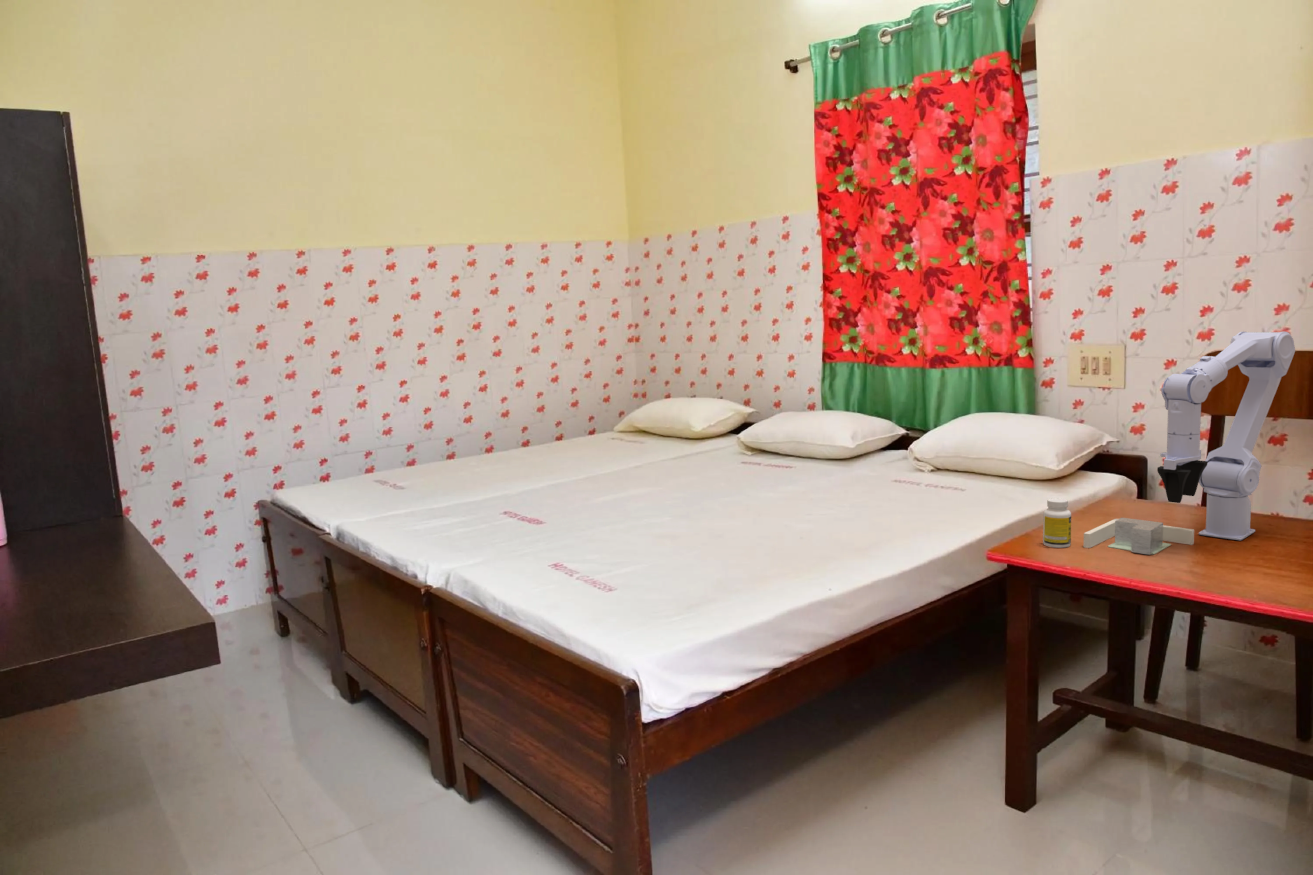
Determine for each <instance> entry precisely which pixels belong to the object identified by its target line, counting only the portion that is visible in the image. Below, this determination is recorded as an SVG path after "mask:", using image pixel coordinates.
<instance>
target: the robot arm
mask: <svg viewBox="0 0 1313 875" xmlns="http://www.w3.org/2000/svg"><path fill="white" fill-rule="evenodd" d="M1295 352H1296V346H1295V341H1294V338H1293V336H1292V334H1291V333H1289V331H1280V332H1279V331H1277V332H1276V331H1275V332H1274V331H1273V332H1272V331H1271V332H1269V331H1266V332H1265V331H1262V332H1258V331H1256V332H1255V331H1250V332H1249V331H1239V332H1238V333H1236V335H1233V336H1232V337H1231V340H1230V344H1229V345H1228V346H1227V347H1225V348H1224V349H1223V350H1221V352H1219V353H1218V354H1217V355H1215V356H1212V355H1211V356H1210V355H1209V356H1208V355H1202V356H1201V357H1199V361H1197V362H1196V363H1195V364H1192V365H1191V366H1188V367H1187V368H1186V369H1185V370H1184V371H1182V372H1181V373H1172V374H1171V375H1169V376H1168V377H1166V378H1165V379H1164V381H1163V384H1162V387H1161V390H1160V391H1161V395H1162V398H1163V400H1164V407H1165V410H1167V428H1166V432H1167V434H1166V435H1167V436H1166V452H1160V454H1159V455H1160V456H1159V457H1161V458H1162V457H1163V458H1164V459H1163V465H1160V466H1158V467H1157V474H1158V475H1159V477H1160V478H1161V480H1162V483H1163V486H1164V489H1165V493H1166V499H1167V502H1168V503H1174V504H1181V502H1182V499H1183V496H1189V497H1194V496H1195V495H1196V493H1197V489H1198V486H1200V487H1201V488H1203V493H1206V516H1205V518H1206V519H1205V528H1204V529H1202V530H1201V531H1199V532H1198V535H1199V536H1206V537H1213V538H1219V539H1226V540H1227V539H1228V540H1235V541H1243V540H1244V539H1246V538H1247V537H1249V536H1250V535H1252V534H1254V533H1255V532H1256V529H1254V528H1251V518H1252V516H1251V514H1252V513H1251V512H1252V501H1251V499H1250V498H1249V496H1252V494H1253V493H1254V492H1255V491H1256V490H1257V488H1258V486H1259V483H1260V482H1259V481H1260V474H1261V473H1260V472H1261V469H1262V464H1261V462H1260V461H1259V459H1258V458H1257V457H1256V456H1255V455H1254V454H1253V451H1254V449H1255V446H1256V443H1257V441H1258V439H1259V435H1260V433H1261V431H1262V429H1263V425H1264V423H1265V421H1266V418H1267V415H1268V413H1269V411H1270V408H1271V406H1272V403H1273V400H1274V397H1275V395H1276V393H1277V390H1278V387H1279V385H1280V382H1281V380H1282V377H1284V376H1286V375H1287V373H1288V371H1289V368H1290V366H1291V363H1292V360H1293V358H1294V355H1295ZM1236 366H1238V368H1239V370H1240V372H1241V373H1242V374H1243V375H1245V376H1247V377H1248V379H1249V381H1248V382H1247V386H1246V388H1245V391H1244V392H1243V396H1242V398H1241V400H1240V403H1239V405H1238V408H1237V411H1236V413H1235V416H1234V418H1233V421H1232V424H1231V426H1230V429H1229V431H1228V433H1227V436H1226V438H1225V440H1224V443H1223V445H1222V446H1220V447H1217V448H1216V449H1213V450H1211V451H1209V452H1208V454H1207V457H1206V459H1205V460H1201V459H1202V449H1201V448H1200V446H1201V445H1200V444H1201V443H1200V442H1201V421H1202V420H1201V419H1202V403H1204V402H1205V401H1206V400H1207V399H1208V396H1209V393H1210V392H1212V389H1213V388H1214V387H1216V386H1217V385H1218V384H1219V383H1221V382H1223V381H1224V380H1225V379H1226V378H1227V377H1228V371H1229V370H1230V369H1233V368H1234V367H1236Z"/></svg>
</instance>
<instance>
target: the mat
mask: <svg viewBox="0 0 1313 875" xmlns="http://www.w3.org/2000/svg"><path fill="white" fill-rule="evenodd" d="M1170 546H1172V543H1169V542H1167V543H1166V542H1163V546H1162V547H1161V548H1159V549H1158V550H1156V551H1155V552H1154V553H1152V554H1151V555H1156V554H1158V553H1159V552H1162V551H1163V550H1165V549H1167V548H1168V547H1170ZM1107 548H1111V549H1118V550H1124V551H1130V552H1131V546H1124V545H1117V544H1115V542H1112V543H1111V544H1109V545H1107Z"/></svg>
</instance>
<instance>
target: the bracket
mask: <svg viewBox="0 0 1313 875" xmlns="http://www.w3.org/2000/svg"><path fill="white" fill-rule="evenodd" d="M1117 519H1118V520H1116V521H1115V536H1114V543H1115V544H1117V545H1124V546H1131V551H1130V552H1131V553H1135V554H1142V555H1149V556H1150V555H1153V554H1152V553H1154V552H1155V551H1156V550H1158V549H1159V548H1161V547H1162V546H1163V543H1164V542H1163V525H1164V522H1161V521H1160V522H1159V521H1152V520H1145V519H1144V520H1143V519H1138V518H1137V519H1136V518H1128V517H1120V518H1117Z"/></svg>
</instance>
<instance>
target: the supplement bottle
mask: <svg viewBox="0 0 1313 875" xmlns="http://www.w3.org/2000/svg"><path fill="white" fill-rule="evenodd" d="M1046 507H1048V508H1045V510H1044V511H1043V515H1042V516H1043V519H1042V522H1043V523H1042V524H1043V525H1042V526H1043V527H1042V543H1043V545H1044V546H1046V547H1050V548H1054V549H1055V548H1057V549H1058V548H1059V549H1060V548H1063V549H1064V548H1069V547H1070V546H1071V543H1072V542H1071V541H1072V512H1071V510H1069V509H1067V508H1068V507H1069V501H1068V499H1065V498H1059V497H1054V498H1053V497H1052V498H1047V502H1046Z"/></svg>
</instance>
